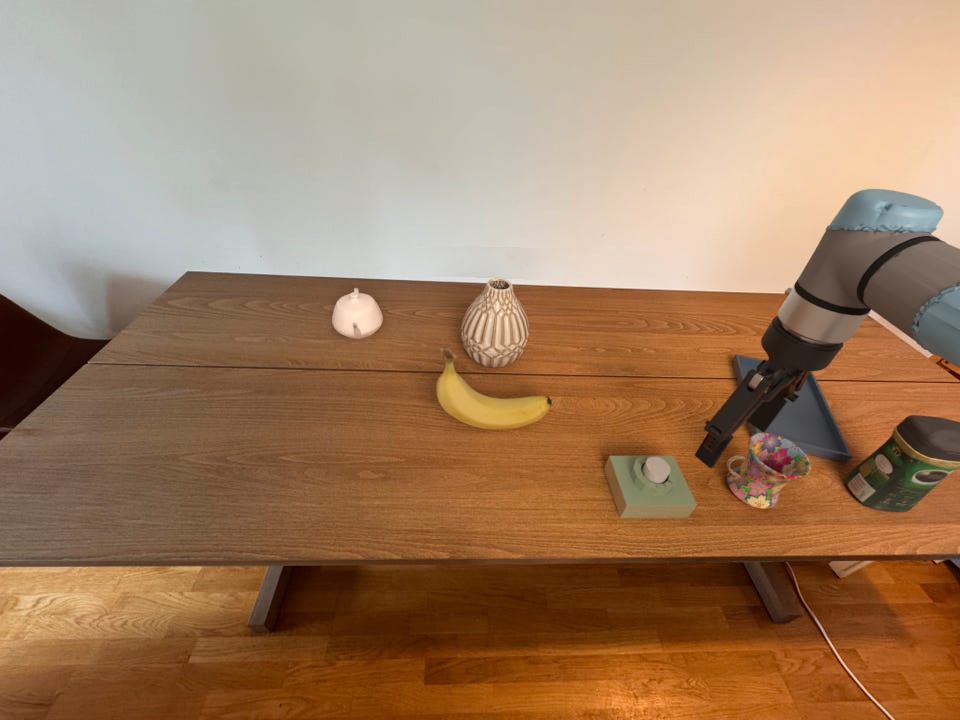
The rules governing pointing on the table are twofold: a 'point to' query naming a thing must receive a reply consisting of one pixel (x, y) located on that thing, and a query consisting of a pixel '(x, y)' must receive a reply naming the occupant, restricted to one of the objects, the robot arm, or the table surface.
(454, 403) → the banana
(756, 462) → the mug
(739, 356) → the tray
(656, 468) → the button
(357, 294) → the teapot
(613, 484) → the green button box
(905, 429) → the coffee jar
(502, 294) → the vase
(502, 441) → the table surface
